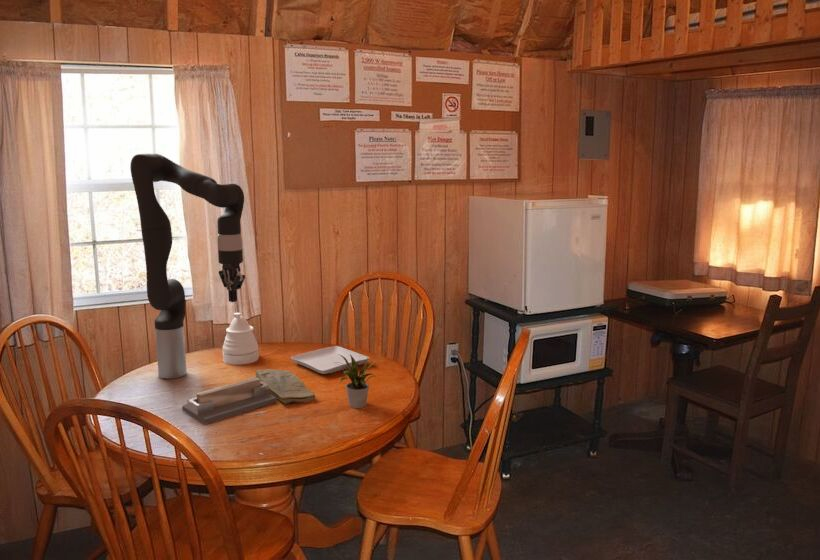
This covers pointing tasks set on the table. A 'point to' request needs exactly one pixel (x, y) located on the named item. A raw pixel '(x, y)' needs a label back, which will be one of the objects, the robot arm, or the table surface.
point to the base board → (232, 408)
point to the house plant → (356, 384)
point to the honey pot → (240, 342)
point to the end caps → (208, 405)
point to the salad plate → (328, 359)
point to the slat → (229, 392)
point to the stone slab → (285, 386)
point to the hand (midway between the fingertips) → (232, 301)
